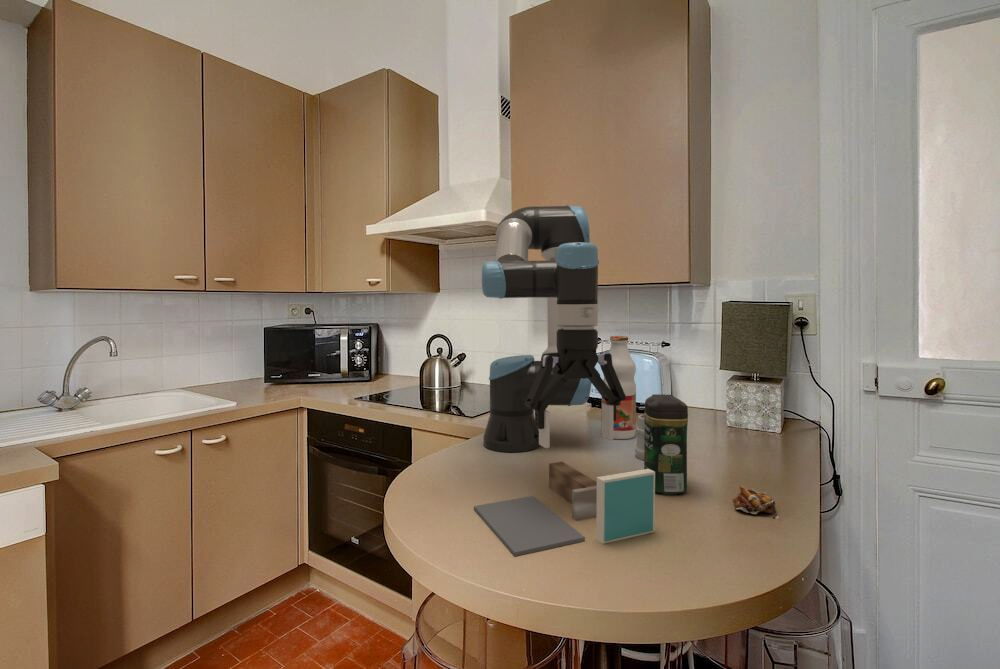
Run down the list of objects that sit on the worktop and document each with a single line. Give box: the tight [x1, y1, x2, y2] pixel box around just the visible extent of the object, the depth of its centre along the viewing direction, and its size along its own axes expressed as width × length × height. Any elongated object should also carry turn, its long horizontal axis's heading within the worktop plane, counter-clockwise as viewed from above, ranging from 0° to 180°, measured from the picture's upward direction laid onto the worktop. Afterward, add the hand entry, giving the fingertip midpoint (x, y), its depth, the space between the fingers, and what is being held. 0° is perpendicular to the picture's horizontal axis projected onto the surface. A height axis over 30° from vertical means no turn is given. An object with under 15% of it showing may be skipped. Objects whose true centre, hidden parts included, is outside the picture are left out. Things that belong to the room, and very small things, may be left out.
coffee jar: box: [643, 393, 689, 496], centre depth 98 cm, size 10×8×19 cm
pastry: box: [731, 484, 780, 520], centre depth 90 cm, size 7×12×4 cm, turn 161°
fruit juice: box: [600, 335, 637, 440], centre depth 137 cm, size 9×9×28 cm
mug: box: [634, 413, 645, 461], centre depth 115 cm, size 8×12×12 cm, turn 160°
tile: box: [595, 468, 656, 545], centre depth 78 cm, size 2×10×10 cm, turn 112°
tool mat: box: [473, 495, 586, 557], centre depth 82 cm, size 18×12×1 cm, turn 22°
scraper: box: [548, 461, 597, 522], centre depth 92 cm, size 15×9×5 cm, turn 22°
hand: (576, 442), depth 91 cm, fingers open, 13 cm apart
